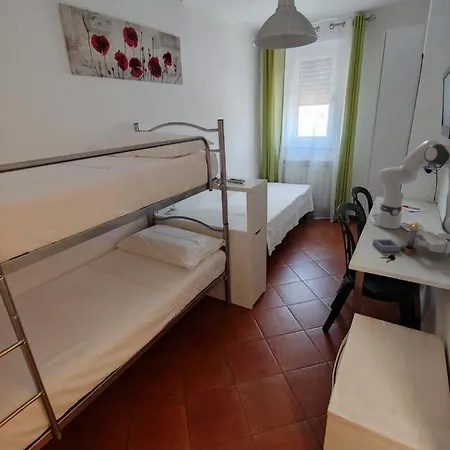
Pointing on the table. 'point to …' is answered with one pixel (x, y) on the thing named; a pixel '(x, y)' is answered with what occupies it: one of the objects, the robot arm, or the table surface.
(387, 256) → the table surface
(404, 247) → the collar
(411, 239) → the pin
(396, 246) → the tray
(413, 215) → the table surface
